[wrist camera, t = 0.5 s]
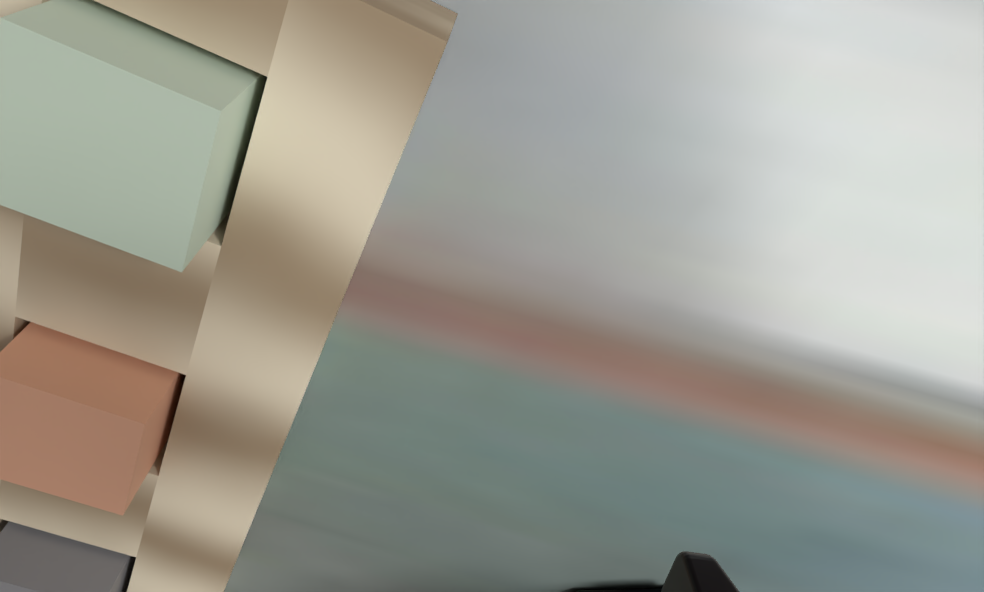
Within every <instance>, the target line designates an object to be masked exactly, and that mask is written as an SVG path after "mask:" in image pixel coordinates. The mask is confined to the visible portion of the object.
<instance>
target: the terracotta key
mask: <svg viewBox="0 0 984 592" xmlns="http://www.w3.org/2000/svg"><path fill="white" fill-rule="evenodd" d="M185 377H186V375H184V374H181V373H179V372H176V371H173V370H170V369H167V368H164V367H161V366H158V365H155V364H152V363H149V362H146V361H144V360H141V359H138V358H135V357H132V356H129V355H126V354H123V353H120V352H117V351H114V350H111V349H109V348H106V347H103V346H100V345H97V344H94V343H91V342H88V341H85V340H82V339H79V338H76V337H73V336H71V335H68V334H65V333H62V332H59V331H56V330H53V329H50V328H47V327H44V326H41V325H38V324H36V323H33V322H30V323H29V324H28V325H27V326H26V327H25V328H24V329H23V330H22V331H21V332H20V333H19V334H18V335H17V336H16V337H15V338H14V339H13V340H12V341H11V342H10V343H9V344H8V345H7V346H6V347H5V348H4V349H3V350H2V351H1V352H0V479H1V480H4V481H8V482H11V483H14V484H18V485H21V486H24V487H28V488H31V489H35V490H38V491H41V492H45V493H48V494H51V495H55V496H58V497H62V498H65V499H68V500H72V501H75V502H78V503H82V504H85V505H89V506H92V507H95V508H99V509H102V510H105V511H109V512H112V513H116V514H119V515H122V516H123V515H124V513H125V511H126V510H127V508H128V506H129V504H130V503H131V501H132V499H133V498H134V496H135V494H136V493H137V491H138V489H139V487H140V486H141V484H142V482H143V481H144V479H145V477H146V476H147V474H148V472H149V470H150V469H151V467H152V465H153V464H154V462H155V460H156V459H157V457H158V455H159V454H160V452H161V450H162V448H163V447H164V445H165V443H166V442H167V440H168V438H169V436H170V432H171V428H172V425H173V421H174V417H175V414H176V410H177V406H178V403H179V399H180V395H181V392H182V388H183V384H184V381H185Z"/></svg>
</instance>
